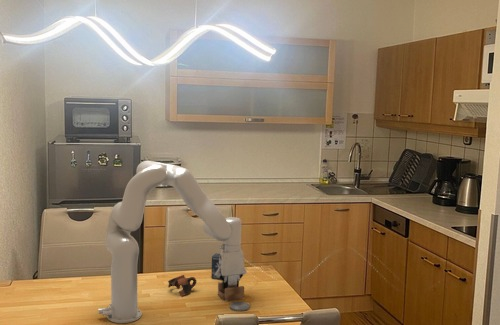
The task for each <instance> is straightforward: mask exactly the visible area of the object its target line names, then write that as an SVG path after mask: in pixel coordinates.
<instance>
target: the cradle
mask: <svg viewBox="0 0 500 325" xmlns="http://www.w3.org/2000/svg"><path fill="white" fill-rule="evenodd" d="M222 283H223V281H222V280H221V281H218V282H217V290H218V291H217V296H218V297H219V298H220V299H221V300H222V301H225V302H231V301H232V302H233V301H239V300H244V299H245V286H244V285H239V287H232V288H225V295H224V290H223V288H222Z"/></svg>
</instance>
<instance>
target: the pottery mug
mask: <svg viewBox="0 0 500 325" xmlns="http://www.w3.org/2000/svg"><path fill="white" fill-rule="evenodd" d="M191 281H192V283H191ZM167 283H168V285H167V286H168V288H171V287H175V288H176V289H179V288H182V289H181V290H179V291H178V294H179V296H180V297H183V296H186V295H189V294H191V291H192V289H193V288H194V287H195V286H196V284H197V279H196V278H195V276H189V277H185V274H182V275H180V276H177V277H174V278H171V279H169V280H168V281H167Z"/></svg>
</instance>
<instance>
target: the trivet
mask: <svg viewBox="0 0 500 325" xmlns="http://www.w3.org/2000/svg"><path fill="white" fill-rule="evenodd" d="M250 308H251V304H250V303H248V302H246V301H242V300H241V301H239V300H235V301H232V302H230V303H229V309H230V310H232V311H235V312H245V311H248V310H250Z"/></svg>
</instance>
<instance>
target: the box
mask: <svg viewBox="0 0 500 325" xmlns="http://www.w3.org/2000/svg"><path fill="white" fill-rule="evenodd" d="M219 258H220V253H217V252H216V253H215V254H213V255H212V256H211V279H214V280H221V279H220V278H218V277H216V276H215V273H216V271H217V270H218V268H219ZM220 275H221V276H222V274H221V273H220Z"/></svg>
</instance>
